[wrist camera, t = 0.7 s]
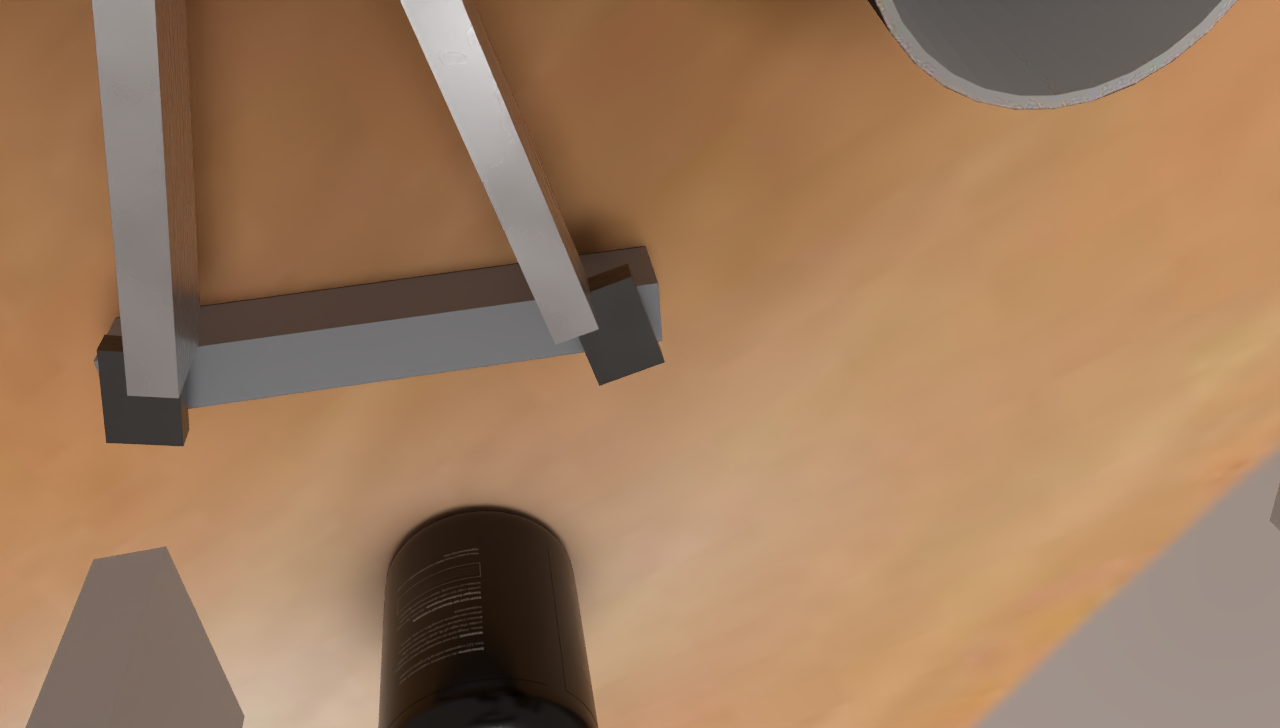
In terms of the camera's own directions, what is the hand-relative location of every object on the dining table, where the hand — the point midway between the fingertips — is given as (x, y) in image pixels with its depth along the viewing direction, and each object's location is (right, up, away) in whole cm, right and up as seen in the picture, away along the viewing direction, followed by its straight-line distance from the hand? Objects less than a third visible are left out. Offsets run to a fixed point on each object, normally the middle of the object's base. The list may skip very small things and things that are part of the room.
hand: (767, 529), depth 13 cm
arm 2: (-5, +9, +14) cm, 18 cm away
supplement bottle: (-7, -6, +28) cm, 29 cm away
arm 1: (-14, +8, +14) cm, 21 cm away
